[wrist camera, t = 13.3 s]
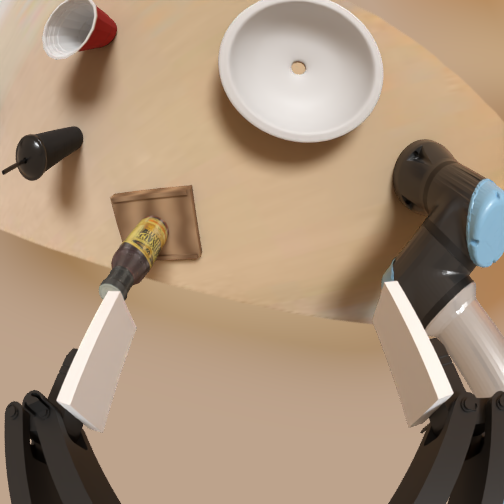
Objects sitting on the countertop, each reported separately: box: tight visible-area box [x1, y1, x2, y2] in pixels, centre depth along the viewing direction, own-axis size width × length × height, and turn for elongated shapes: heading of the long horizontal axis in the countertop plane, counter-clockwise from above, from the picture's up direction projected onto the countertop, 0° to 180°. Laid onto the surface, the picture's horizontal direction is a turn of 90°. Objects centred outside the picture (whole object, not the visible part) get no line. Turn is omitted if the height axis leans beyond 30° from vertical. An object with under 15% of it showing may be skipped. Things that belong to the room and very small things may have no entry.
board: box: [110, 185, 202, 260], centre depth 50 cm, size 16×14×3 cm
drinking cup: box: [2, 127, 83, 181], centre depth 32 cm, size 8×8×20 cm
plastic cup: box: [42, 0, 117, 60], centre depth 25 cm, size 11×11×12 cm
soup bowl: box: [218, 0, 383, 143], centre depth 33 cm, size 24×24×7 cm
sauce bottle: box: [99, 216, 169, 301], centre depth 41 cm, size 7×6×20 cm
